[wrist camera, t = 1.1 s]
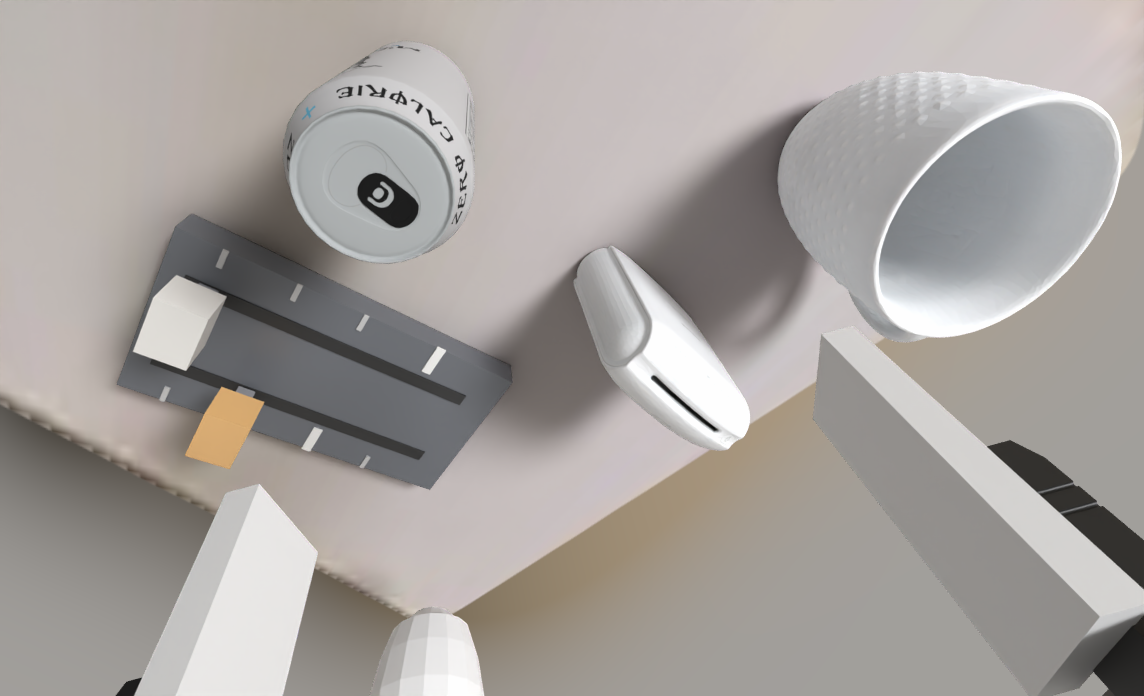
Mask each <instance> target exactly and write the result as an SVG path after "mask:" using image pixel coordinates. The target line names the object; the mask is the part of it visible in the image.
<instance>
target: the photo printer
mask: <svg viewBox="0 0 1144 696" xmlns="http://www.w3.org/2000/svg"><path fill="white" fill-rule="evenodd" d="M573 282H574V287H575V290H576V293H577V296H578V298H579V301H580V304H581V306H582V309H583V312H584V315H585V318H586V321H587V323H588V326H589V329H590V332H591V335H592V337H593V340H594V343H595V346H596V349H597V352H598V355H599V358H600V360H601V363H602V364H603V366H604V368H605V369H606V371H607V372H608V373H609V375H610V377H611V378H612V379H613V381H614V382H615V383H616V384H617V385H618V386H619V387H620V388H621V389H622V390H623V391H624V392H625V393H626V394H627V395H628V396H629V397H630V398H631V399H632V400H633V401H635V402H636V403H637V404H638V405H639V406H640V407H641V408H643V409H644V410H645V411H646V412H647V413H649V414H650V415H651V416H652V417H653V418H655V419H656V420H657V421H658V422H660V423H661V424H662V425H664V426H665V427H666V428H668V429H669V430H671V431H672V432H674V433H675V434H677V435H678V436H680V437H682V438H683V439H685V440H688V441H689V442H691V443H693V444H695V445H698V446H700V447H703V448H707V449H711V450H727V449H729V448H730V446H731V445H732V444H733V443H734V442H735V441H737V440H739V439H742V438H743V437H744V435H745V434H746V432H747V430H748V427H749V422H750V412H749V408H748V405H747V403H746V401H745V399H744V397H743V396H742V394H741V392H740V391H739V389H738V388H737V386H736V385H735V383H734V382H733V380H732V379H731V377H730V376H729V374H728V373H727V371H726V370H725V368H724V367H723V365H722V363H721V362H720V360H719V359H718V357H717V356H716V354H715V353H714V351H713V350H712V348H711V347H710V345H709V344H708V342H707V341H706V339H705V338H704V337H703V335H702V334H701V332H700V331H699V329H698V328H697V326H696V325H695V323H694V322H693V321H692V319H691V318H690V317H689V315H688V314H687V313H686V312H685V311H684V310H683V309H682V308H681V307H680V306H679V304H678V303H677V302H676V301H675V300H674V299H673V298H672V297H671V296H670V295H669V294H668V293H667V292H666V291H665V290H664V289H663V288H662V287H661V286H660V285H659V284H658V283H657V282H655V281H654V280H653V279H652V278H651V277H650V276H649V275H648V274H647V273H646V272H645V271H644V270H643V269H642V268H640V267H639V266H638V265H637V264H636V263H635V262H634V261H633V260H631V259H630V258H629V257H628V256H627V255H625V254H624V253H623V252H621V251H620V250H618V249H617V248H615V247H613V246H611V245H610V246H609V247H608V248H600V249H597V250H595V251H593V252H591V253H590V254H589V255H587V256H586V257H585V258H584V259H583V260H582V262H581V263H580V265H579V267H578V270H577V278H576V279H574V281H573Z"/></svg>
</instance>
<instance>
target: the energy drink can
mask: <svg viewBox="0 0 1144 696" xmlns="http://www.w3.org/2000/svg"><path fill="white" fill-rule="evenodd" d="M283 163H284V169H285V174H286V179H287V182H288V184H289V187H290V189H291V194H292V197H293V200H294V202H295V205H296V207H297V210H298V211H299V213H300V215H301V216H302V218H303V219H304V221H305V223H306V224H307V225H308V226H309V227H310V229H311V230H312V231H313V232H314V233H315V234H316V235H317V236H318V237H319V238H320V239H321V240H323V241H324V242H325V243H326V244H328V245H329V246H330V247H332V248H334V249H335V250H337V251H339V252H341V253H342V254H344V255H347V256H349V257H352V258H355V259H357V260H361V261H366V262H371V263H384V264H390V263H397V262H403V261H406V260H409V259H412V258H415V257H418V256H419V255H421V254H424V253H427V252H430V251H432V250H433V249H435V248H437V247H439V246H440V245H442V244H444V243H445V242H446V241H447V240H448V239H449V238H450V237H451V236H453V235H454V234H455V233H456V231H457V230H458V228H459V227H460V226H461V224H462V223H463V222H464V220H465V218H466V216H467V213H468V211H469V209H470V207H471V203H472V198H473V193H474V103H473V97H472V93H471V90H470V87H469V85H468V82H467V80H466V79H465V77H464V75H463V74H462V72H461V70H460V69H459V68H458V67H457V66H456V64H455V63H454V62H453V61H452V60H451V59H450V58H448V57H447V56H446V55H445V54H444V53H442V52H440V51H439V50H437V49H435V48H433V47H432V46H429V45H426V44H423V43H420V42H412V41H401V42H393V43H390V44H388V45H385V46H382V47H381V48H379V49H378V50H376V51H374V52H373V53H371V54H370V55H368V56H367V57H365V58H364V59H362V60H360V61H359V62H357V63H356V64H354V65H353V66H351V67H350V68H348V69H346V70H345V71H343V72H342V73H340V74H339V75H337V76H335V77H334V78H332V79H331V80H329V81H328V82H326V83H325V84H323V85H321V86H320V87H318V88H317V89H315V90H314V91H312V92H311V93H309V94H308V96H307V97H306V98H305V99H304V100H303V101H302V102H301V103H300V104H299V105H298V106H297V108H296V110H295V112H294V113H293V115H292V117H291V119H290V121H289V123H288V126H287V130H286V133H285V137H284V141H283Z"/></svg>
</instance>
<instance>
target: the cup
mask: <svg viewBox="0 0 1144 696" xmlns="http://www.w3.org/2000/svg"><path fill="white" fill-rule="evenodd" d="M370 696H484V691H483V685H482V679H481V672H480V667H479V660H478V657H477V653H476V650H475V647H474V644H473V641H472V637H471V634H470V631H469V628H468V625H467V623H466V622H464V621H463V620H462V619H460V618H459V617H456V616H453V615H452V614H451V613H450V612H449V611H448V610H447V609H444V608H441V607H428V608H423V609H421V610H419V611H417V612H416V613H415V614H414V615H413V616H412V617H411V618H408V619H406V620H404V621H402V622H401V623H400V624H399V625H397V626H396V627H395V628H394V629H393V632H392V634H391V636H390V638H389V640H388V643H387V645H386V647H385V649H384V652H383V654H382V656H381V658H380V662H379V665H378V668H377V672H376V676H375V679H374V682H373V686H372V689H371V692H370Z"/></svg>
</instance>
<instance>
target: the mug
mask: <svg viewBox="0 0 1144 696" xmlns="http://www.w3.org/2000/svg"><path fill="white" fill-rule="evenodd" d="M1121 157H1122V152H1121V143H1120V137H1119V134H1118V131H1117V127H1116V125H1115V123H1114V122H1113V120H1112V119H1111V117H1110V116H1109V115H1108V114H1107V112H1106V111H1104V110H1103V109H1102V108H1101V107H1100V106H1099V105H1098V104H1096V103H1094V102H1093V101H1091V100H1088V99H1086V98H1084V97H1081V96H1078V95H1074V94H1071V93H1066V92H1060V91H1055V90H1050V89H1044V88H1039V87H1037V86H1034V85H1024V84H1019V83H1016V82H1013V81H1006V80H995V79H991V78H988V77H985V76H983V77H981V76H977V77H975V76H968V75H965V74H962V73H952V74H948V73H944V72H937V71H936V72H928V73H925V72H919V71H916V72H912V73H898V74H894V75H892V76H879V77H877V78H875V79H873V80H869V81H862V82H861V83H859V84H856V85H851V86H849V87H847V88H846V89H844V90H842V91H838V92H836V93H834V94H833V95H831V96H830V97H829V98H827V99H825V100H823V101H822V102H821V103H820V104H818V105H817V106H816V107H814V108H813V109H812V110H811V111H809V112H808V113H807V114H806V115H805V116H804V117H803V118H802V119H801V120H800V122H799V123H798V124H797V125H796V127H795V128H794V130H793V131H792V133H791V134H790V136H789V138H788V139H787V141H786V143H785V146H784V148H783V151H782V154H781V157H780V161H779V168H778V180H777V183H778V188H779V189H778V194H779V196H780V199H781V205H782V207H783V209H784V213H785V216H786V217H787V219H788V221H789V224H790V227H791V228H792V229H793V230H794V232H795V234H796V236H797V238H798V239H799V240H800V241H801V242H802V244H803V246H804V248H805V249H806V250H807V251H808V252H809V253H810V254H811V255H812V257H813V259H814V260H815V261H816V262H818V263H819V264H820V265H821V266H822V267H823V268H824V270H825V271H826V272H827V273H829V274H830V275H832V276H833V277H834V278H835V279H836V281H837V282H838V283H839V284H841V285H843V286H844V287H845V288H846V289H848V291H849V294H850V296H851V298H852V300H853V302H854V304H855V306H856V307H857V309H858V311H859V312H860V314H861V315H862V317H863V318H864V319H865V320H866V322H867V323H868V324H869V325H870V326H871V327H872V328H873V329H874V330H875V331H877V332H878V333H879V334H881V335H882V336H884V337H885V338H887V339H890V340H893V341H897V342H913V341H918V340H921V339H924V338H927V337H933V338H934V337H935V338H939V337H940V338H943V337H952V336H957V335H963V334H967V333H971V332H974V331H977V330H980V329H982V328H985V327H987V326H990V325H992V324H994V323H997V322H999V321H1001V320H1003V319H1004V318H1007V317H1009V316H1011V315H1012V314H1014V313H1015V312H1017V311H1019V310H1020V309H1022V308H1024V307H1025V306H1027V305H1028V304H1029V303H1031V302H1032V301H1034V300H1035V299H1036V298H1037V297H1039V296H1040V295H1041V294H1042V293H1044V292H1045V291H1046V290H1047V289H1048V288H1049V287H1051V286H1052V285H1053V284H1054V283H1055V282H1056V281H1057V280H1058V279H1059V278H1060V277H1061V276H1062V275H1063V274H1064V273H1066V271H1067V270H1068V269H1069V268H1070V267H1071V266H1072V265H1073V264H1074V263H1075V262H1076V260H1077V259H1078V257H1079V256H1080V255H1081V254H1082V253H1083V251H1084V250H1085V249H1086V247H1087V246H1088V245H1089V243H1090V242H1091V241H1092V239H1093V237H1094V236H1095V234H1096V232H1097V231H1098V230H1099V228H1100V227H1101V225H1102V223H1103V221H1104V220H1105V217H1106V215H1107V213H1108V211H1109V209H1110V207H1111V205H1112V202H1113V199H1114V196H1115V193H1116V189H1117V185H1118V181H1119V177H1120V171H1121Z"/></svg>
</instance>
